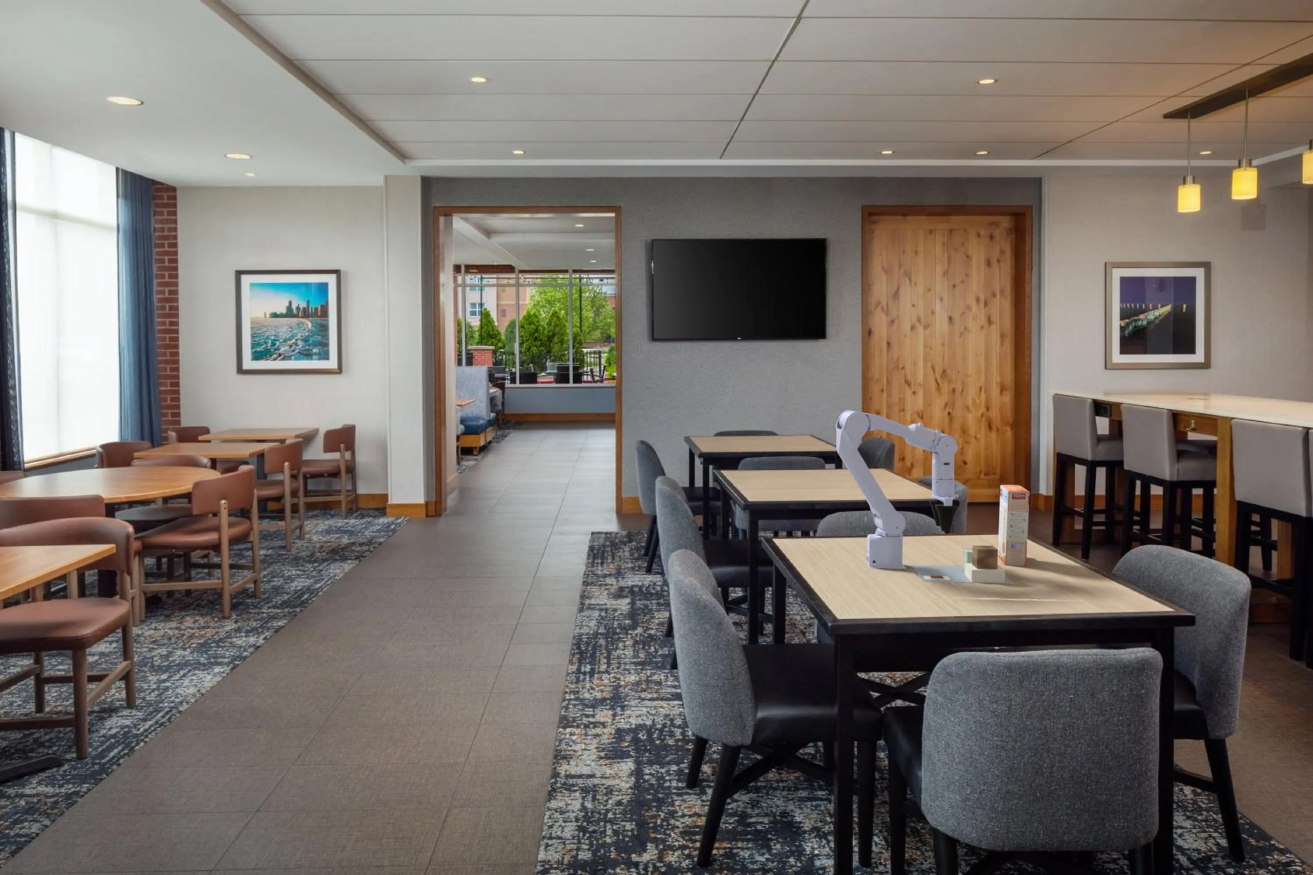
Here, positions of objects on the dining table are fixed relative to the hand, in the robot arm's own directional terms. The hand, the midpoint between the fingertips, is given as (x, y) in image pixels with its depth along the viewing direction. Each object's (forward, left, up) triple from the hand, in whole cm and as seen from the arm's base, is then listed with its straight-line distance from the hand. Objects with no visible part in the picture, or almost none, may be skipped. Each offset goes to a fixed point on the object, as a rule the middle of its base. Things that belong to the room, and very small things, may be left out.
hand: (943, 528), depth 265 cm
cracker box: (+20, +8, -11) cm, 24 cm away
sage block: (+7, -5, -10) cm, 13 cm away
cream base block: (+7, -16, -10) cm, 20 cm away
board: (+2, -11, -10) cm, 15 cm away
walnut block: (+7, -16, -7) cm, 19 cm away
